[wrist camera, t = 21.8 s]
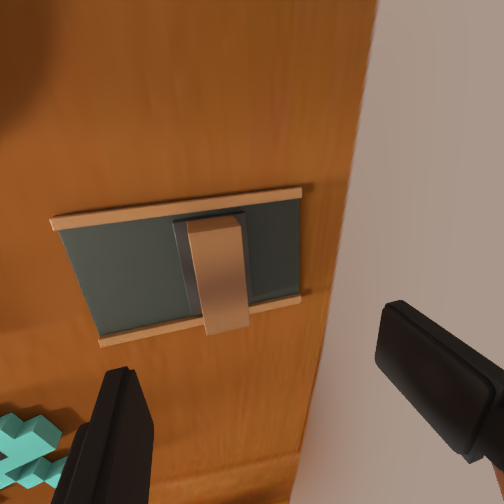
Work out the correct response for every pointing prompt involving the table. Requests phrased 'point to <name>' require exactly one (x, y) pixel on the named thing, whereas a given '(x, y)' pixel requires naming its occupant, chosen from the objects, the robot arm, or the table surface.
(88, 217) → the slate board
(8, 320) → the table surface
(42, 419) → the alien figure
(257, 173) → the table surface
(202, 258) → the eraser
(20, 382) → the table surface
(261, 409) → the table surface
